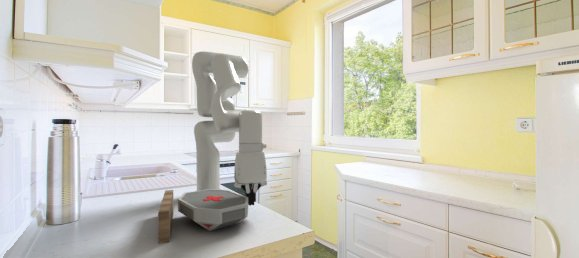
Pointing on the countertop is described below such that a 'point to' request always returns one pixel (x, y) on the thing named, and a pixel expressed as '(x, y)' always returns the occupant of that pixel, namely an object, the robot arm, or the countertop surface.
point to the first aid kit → (214, 207)
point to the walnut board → (165, 216)
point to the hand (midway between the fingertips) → (250, 204)
